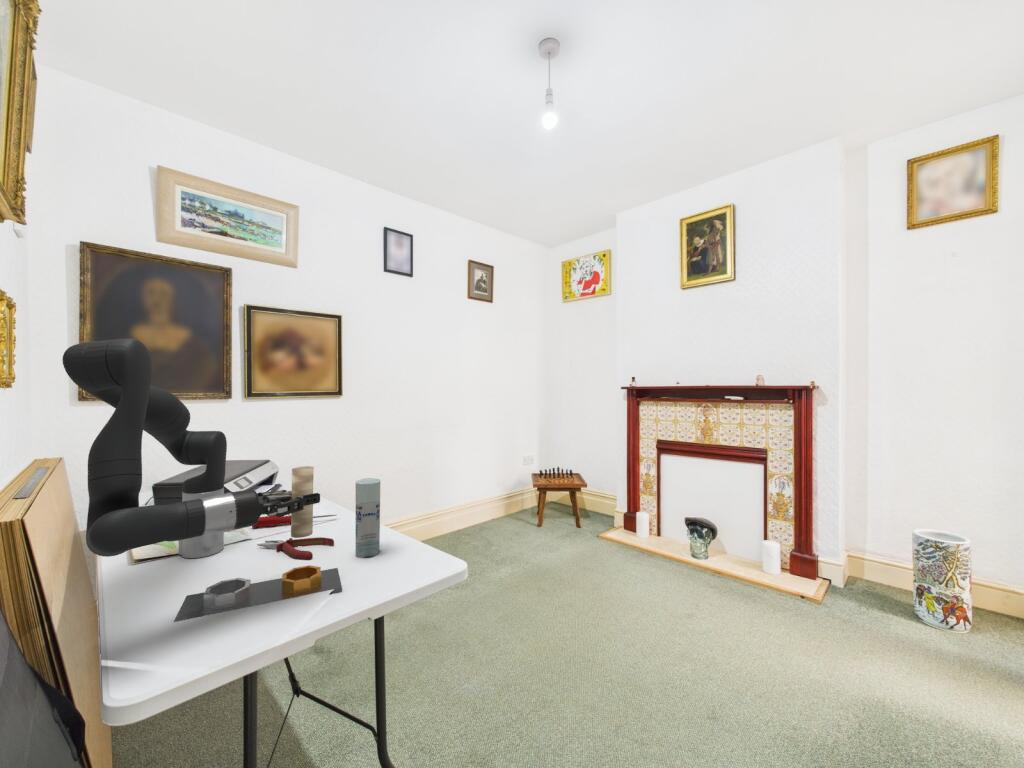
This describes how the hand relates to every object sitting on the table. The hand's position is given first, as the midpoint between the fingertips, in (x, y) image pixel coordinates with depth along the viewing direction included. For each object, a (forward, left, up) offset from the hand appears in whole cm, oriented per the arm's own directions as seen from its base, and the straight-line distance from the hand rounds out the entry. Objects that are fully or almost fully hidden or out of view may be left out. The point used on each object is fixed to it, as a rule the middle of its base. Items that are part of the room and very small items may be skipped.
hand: (314, 495), depth 96 cm
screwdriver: (-30, +38, -21) cm, 53 cm away
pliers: (-17, +20, -21) cm, 34 cm away
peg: (-2, -2, -8) cm, 9 cm away
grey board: (-7, -6, -21) cm, 23 cm away
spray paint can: (+4, +18, -21) cm, 28 cm away
